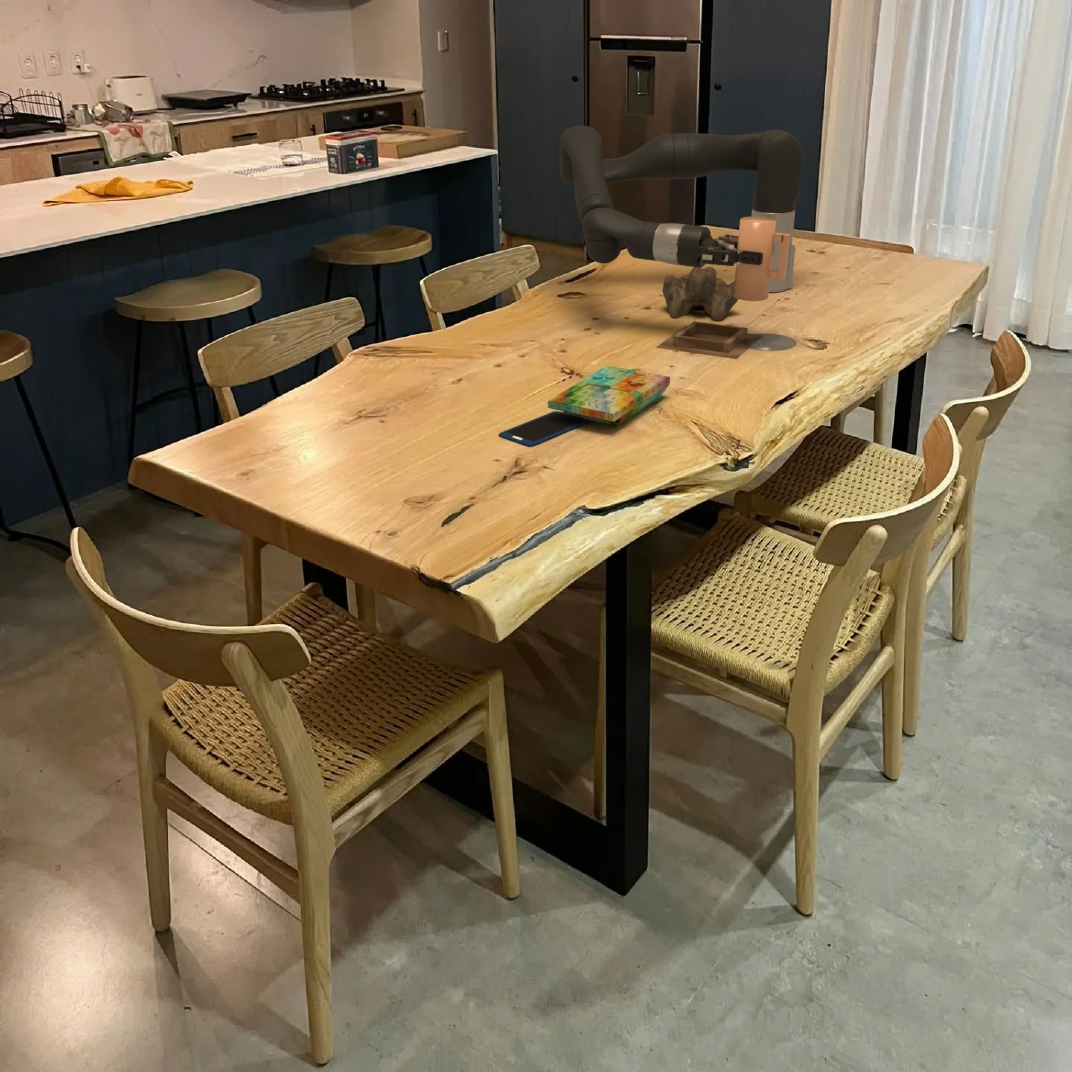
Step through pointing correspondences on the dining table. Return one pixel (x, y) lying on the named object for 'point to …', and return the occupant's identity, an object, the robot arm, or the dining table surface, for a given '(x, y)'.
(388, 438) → the dining table surface
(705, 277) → the decorative stone
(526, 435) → the cell phone
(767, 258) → the peach orange tall mug
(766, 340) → the grey disc
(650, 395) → the puzzle game
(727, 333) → the holder
